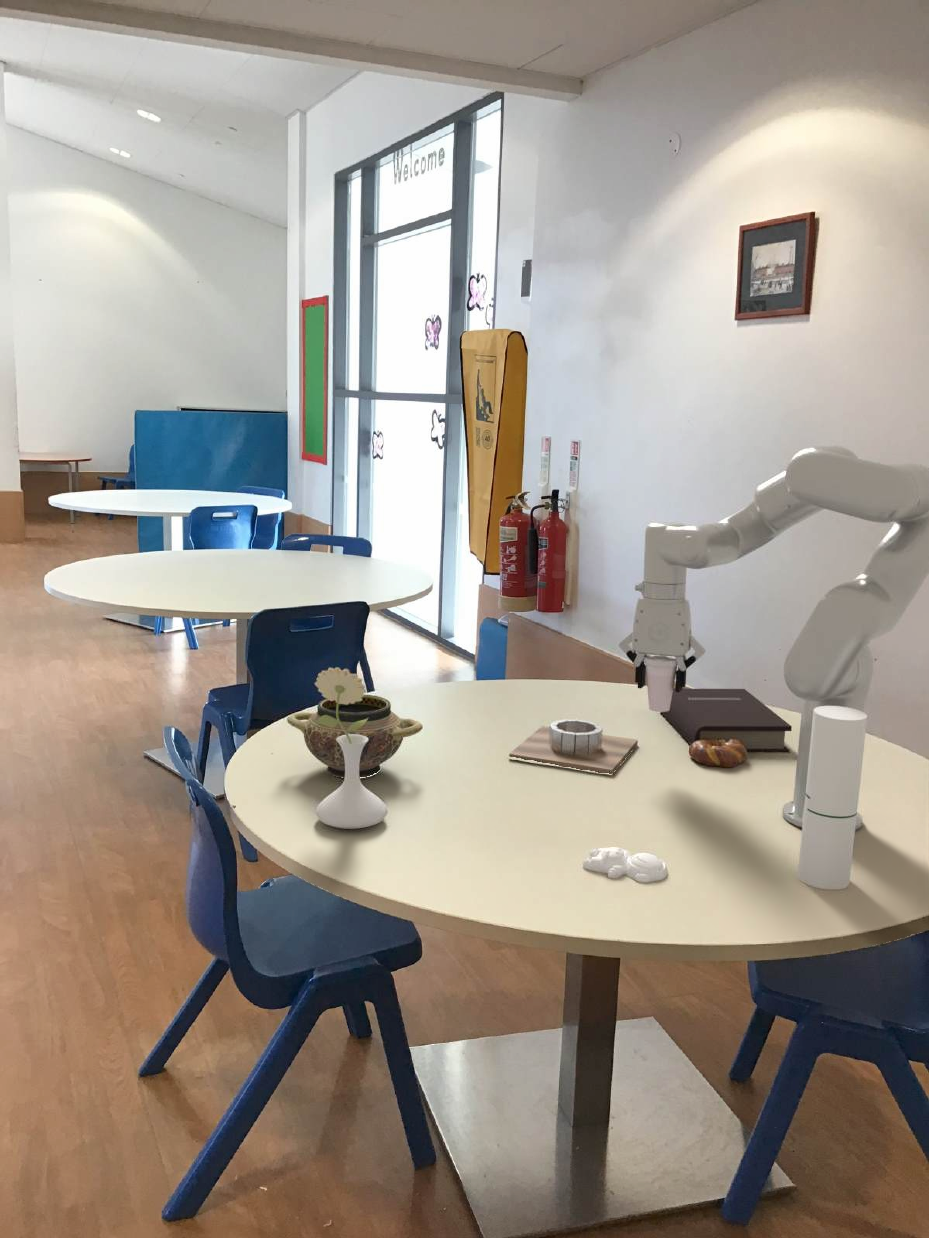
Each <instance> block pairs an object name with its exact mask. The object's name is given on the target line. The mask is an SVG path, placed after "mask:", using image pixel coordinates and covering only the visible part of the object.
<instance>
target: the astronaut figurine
mask: <svg viewBox="0 0 929 1238" xmlns="http://www.w3.org/2000/svg"><path fill="white" fill-rule="evenodd" d="M582 868H583V869H586V870H590V871H594V872H598V873H605V874H607V878H609V879H616V878H619V877H621V876H623V875H626V876H628V877H629V878H631V879H634V881H636V882H638V883H644V884H645V883H646V884H648V883H651V882H656V881H661V880H663V879H664V878H666V877H667V876H668V867H667V864H666V863H665V861H664V860H662V859H661V858H660V857H658V856H656V855H654V854H652V853H648V852H639V853H638V852H637V853H635V854H633V855H631V853H630V852H629V851H628V850H626V849H623V848H620V847H618V846H616V847H613V846H608V847H601V848H599V847H598V848H594V849H592V850H591V851H590V852H589V857H588V858H585V859H584V860H583V861H582Z"/></svg>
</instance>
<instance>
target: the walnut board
mask: <svg viewBox="0 0 929 1238" xmlns="http://www.w3.org/2000/svg"><path fill="white" fill-rule="evenodd" d="M549 731H550V726H544V725H542V726H540V727H539V728H538V729H537V730H535V732H534V733H532V734H531V735H530V736H529V737H528V738H526V739H525V740H524V741H522V742H521V743H520V744H519V745H517V747H515V748H514V749H513V750H512V751H510V752H509V755H508V757H509V756H510V757H516V758H521V759H524V760H534V761H537V762H542V763H550V764H555V765H559V766H562V767H571V768H576V769H580V770H590V771H595V772H598V773H609V774H612V773H614V771H615V770H616V769H617V768H618V767H619V766H620V764H621V763H622V762H623V761H624V760H625V758H626V757H627V756H628V755H629V754H630V753H631V751H632V750H633V749H634V748H635V746H636V747H638V741H639V740H638V739H636V738H635V739H633V738H628V737H621V736H614V735H608V734H602V748H601V750H600V751H599V752H597V753H593V754H589V755H588V754H587V755H575V754H574V755H572V754H565V753H562V752H561V753H560V752H558V751H555V750H553V749H551V747H550V746H549ZM635 749H636V748H635ZM635 749H634V750H635ZM634 750H633V751H634ZM633 751H632V752H633ZM631 754H632V753H631ZM631 754H630V755H631ZM630 755H629V756H630ZM629 756H628V757H629ZM628 757H627V758H628ZM625 761H626V760H625ZM625 761H624V762H625ZM624 762H623V763H624ZM623 763H622V764H623ZM620 767H621V766H620ZM620 767H619V768H620ZM619 768H618V769H619ZM618 769H617V770H618ZM614 774H615V773H614Z"/></svg>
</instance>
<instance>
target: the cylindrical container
mask: <svg viewBox="0 0 929 1238" xmlns="http://www.w3.org/2000/svg"><path fill="white" fill-rule="evenodd" d="M867 722H868V714H867V713H866V712H865V711H864V712H862V711H859V710H856V709H852V708H847V707H841V706H820V707H816V708H815V709H814V711H813V722H812V732H811V743H810V753H809V764H808V774H807V784H806V794H805V805H804V815H803V826H802V827H801V836H800V837H801V838H800V845H799V846H800V847H799V848H800V849H799V859H798V866H797V868H798V869H797V878H798V880H800V881H801V882H803V883H804V884H806V885H808V886H811V887H814V888H817V889H821V890H826V891H827V890H828V891H829V890H831V891H832V890H833V891H834V890H842V889H846V888H848V887H849V886H850V882H851V881H850V880H851V873H852V872H851V871H852V864H853V863H852V862H853V854H854V853H853V852H854V843H855V834H856V831H855V826H856V816H857V812H858V805H859V797H860V787H861V778H862V769H863V760H864V752H865V751H864V750H865V742H866V741H865V740H866V732H867V731H866V730H867Z"/></svg>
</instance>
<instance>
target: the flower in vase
mask: <svg viewBox="0 0 929 1238" xmlns="http://www.w3.org/2000/svg"><path fill="white" fill-rule="evenodd" d="M314 685H315V687H317V689H318V690H317V691H318V692H319V693H321V696H322V697H323V698H325V699H328V700H330V701H334V700H335V701H336V703H337V706H336V717H337V719H335V718H333V717H331V716H328V715H323V716H321V717H320V718H319V719H318V720H317V721H316V722H315V723H317V724H321V725H325V726H327V727H331V728H333V727H335V726H336V725H337V724H338V723H339V724H340V726H341V728H342V729H343V731H344V733H345V734H346V735H342V736H339V737H338V738H337V739H336V740H337V742H338V743H339V745H340V746H341V748H342V751H343V754H344V760H345V778H344V779H343V781H342V784H341V785H340V786H339V787H338V788H337V789H335V790H334V791H332V792H331V793H330V794H329V795H327V796H326V797H324V799H323V800H321V802H320V803H319V804H318V805H317V807H316V810H315V816H316V817H317V818H318V820H319V821H320V822H321V823H323V824H325V825H326V826H327V825H328V826H330V827H334V828H338V829H344V830H345V829H346V830H348V829H349V830H354V829H355V830H356V829H364V828H367V827H368V828H369V827H372V826H374V825H377V824H380V823H381V822H383V820H384V819H385V818H386V816H387V815H388V808H387V806H386V804H385V803H384V801H382V799H381V798H380V797H378V796H377V795H376V794H374V793H373V792H372V791H370V790H369V789H367V788H366V787H365V786H364V785H363V784H362V782H361V779H360V777H359V763H360V757H361V752H362V750H363V747H364V746H365V744H366V743H367V742H368V738H367V737H365V736H363V735H356V734H349V735H348V733H347V732H346V731H354V730H357V729H359V728H360V727H362V726H363V725H364V724H365V723H366V721H367V720H368V718H367V719H365V720H361V721H357V722H355V723H353V724H352V725H351V726H350V727H349V728H348V729H347V730H345V729H344V727H343V725H342V724H341V722H340V720H339V717H338V706H339V704H345V705H348V704H349V703H351V704H354V703H355V701H356V702H358V701H362V698H361V697H363V696H364V695H365V694H366V693H367V689H366V685H365V684H364V683H363V678H361V677H359V675H358V674H357V673H351V672H350V670H349V669H348V668H344V669H343V670H342V669H341V668H340V667H337V666H336V667H335V668H334V667H328V669H326V670H321V672H319V673H318V674H317V678H316V681H315V682H314Z"/></svg>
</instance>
